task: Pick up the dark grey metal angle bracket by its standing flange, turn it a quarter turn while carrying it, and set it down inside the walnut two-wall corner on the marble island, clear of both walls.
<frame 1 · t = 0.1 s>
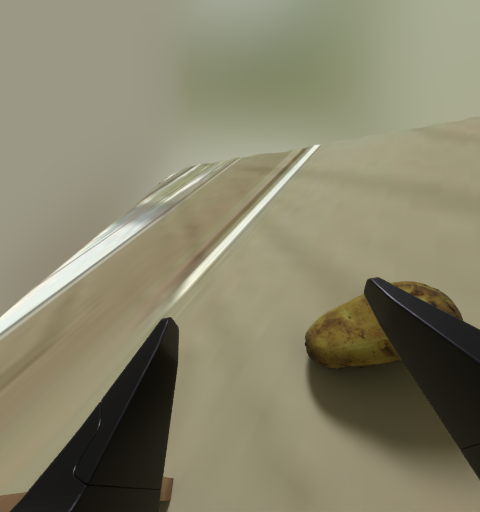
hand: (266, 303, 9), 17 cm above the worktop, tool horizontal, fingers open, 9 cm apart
potato: (363, 344, 22), on the worktop
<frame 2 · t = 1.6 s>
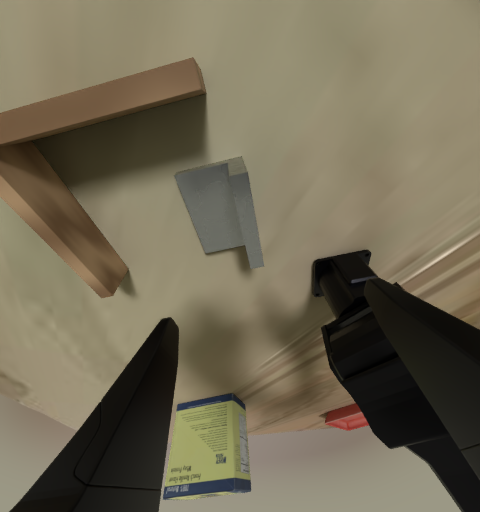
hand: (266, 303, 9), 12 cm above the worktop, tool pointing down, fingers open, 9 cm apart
wooden corner frame: (151, 197, 18), on the worktop
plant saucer: (356, 407, 65), on the worktop
protein box: (212, 403, 52), on the worktop
bracket: (243, 202, 19), on the worktop
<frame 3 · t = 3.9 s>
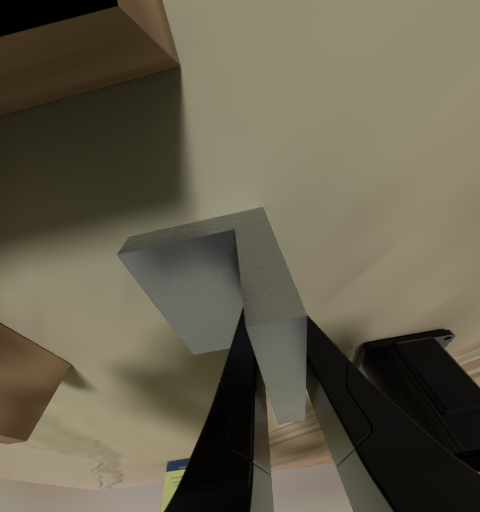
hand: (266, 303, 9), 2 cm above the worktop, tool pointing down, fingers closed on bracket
wooden corner frame: (86, 277, 9), on the worktop
protein box: (209, 457, 44), on the worktop
bracket: (261, 280, 10), on the worktop, touching gripper
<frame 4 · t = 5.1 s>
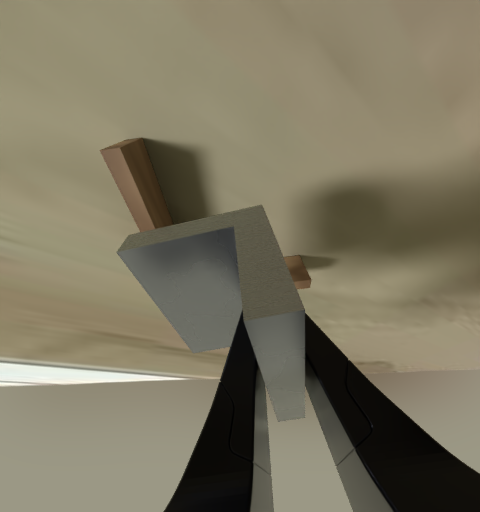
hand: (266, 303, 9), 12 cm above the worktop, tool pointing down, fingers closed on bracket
wooden corner frame: (232, 213, 19), on the worktop
bracket: (261, 278, 10), point 10 cm above the worktop, touching gripper
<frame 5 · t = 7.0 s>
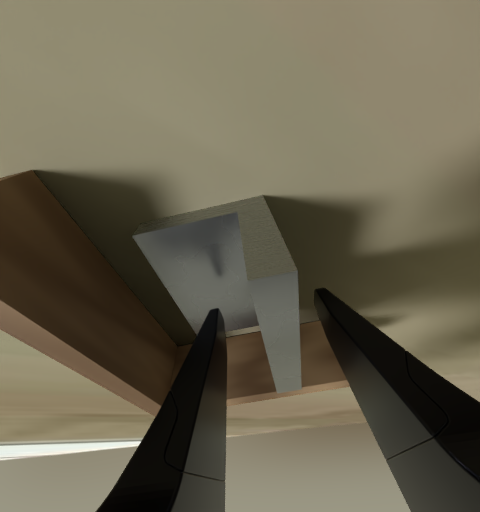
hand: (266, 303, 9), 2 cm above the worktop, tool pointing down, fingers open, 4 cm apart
wooden corner frame: (232, 273, 11), on the worktop
bracket: (261, 264, 11), on the worktop
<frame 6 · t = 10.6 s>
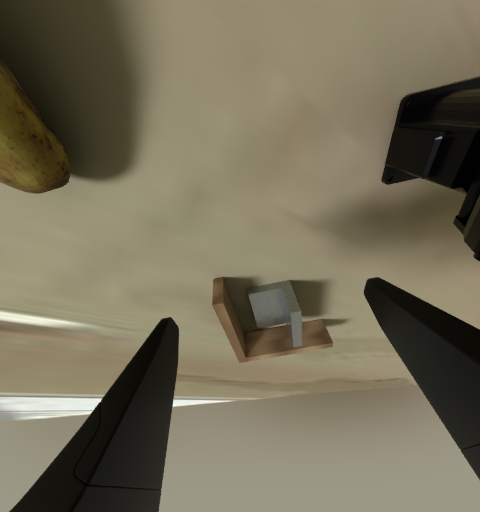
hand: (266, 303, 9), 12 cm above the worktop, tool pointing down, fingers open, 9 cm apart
wooden corner frame: (275, 303, 28), on the worktop
bracket: (286, 299, 28), on the worktop
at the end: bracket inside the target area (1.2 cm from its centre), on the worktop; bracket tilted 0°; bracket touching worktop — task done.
